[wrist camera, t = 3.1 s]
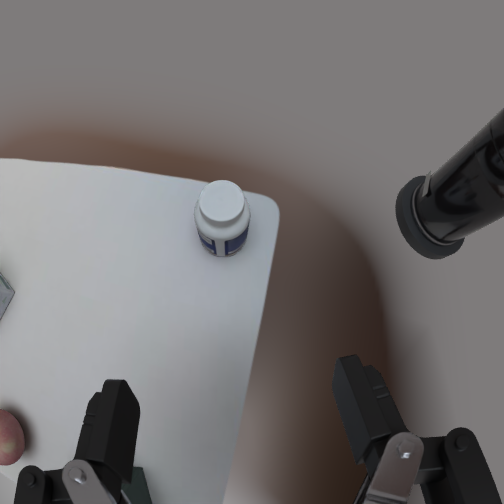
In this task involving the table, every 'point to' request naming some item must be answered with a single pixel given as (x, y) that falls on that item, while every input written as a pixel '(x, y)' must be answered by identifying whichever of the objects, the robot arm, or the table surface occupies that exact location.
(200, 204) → the pill bottle
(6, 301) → the syrup box
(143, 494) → the trash can
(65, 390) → the table surface
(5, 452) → the apple
